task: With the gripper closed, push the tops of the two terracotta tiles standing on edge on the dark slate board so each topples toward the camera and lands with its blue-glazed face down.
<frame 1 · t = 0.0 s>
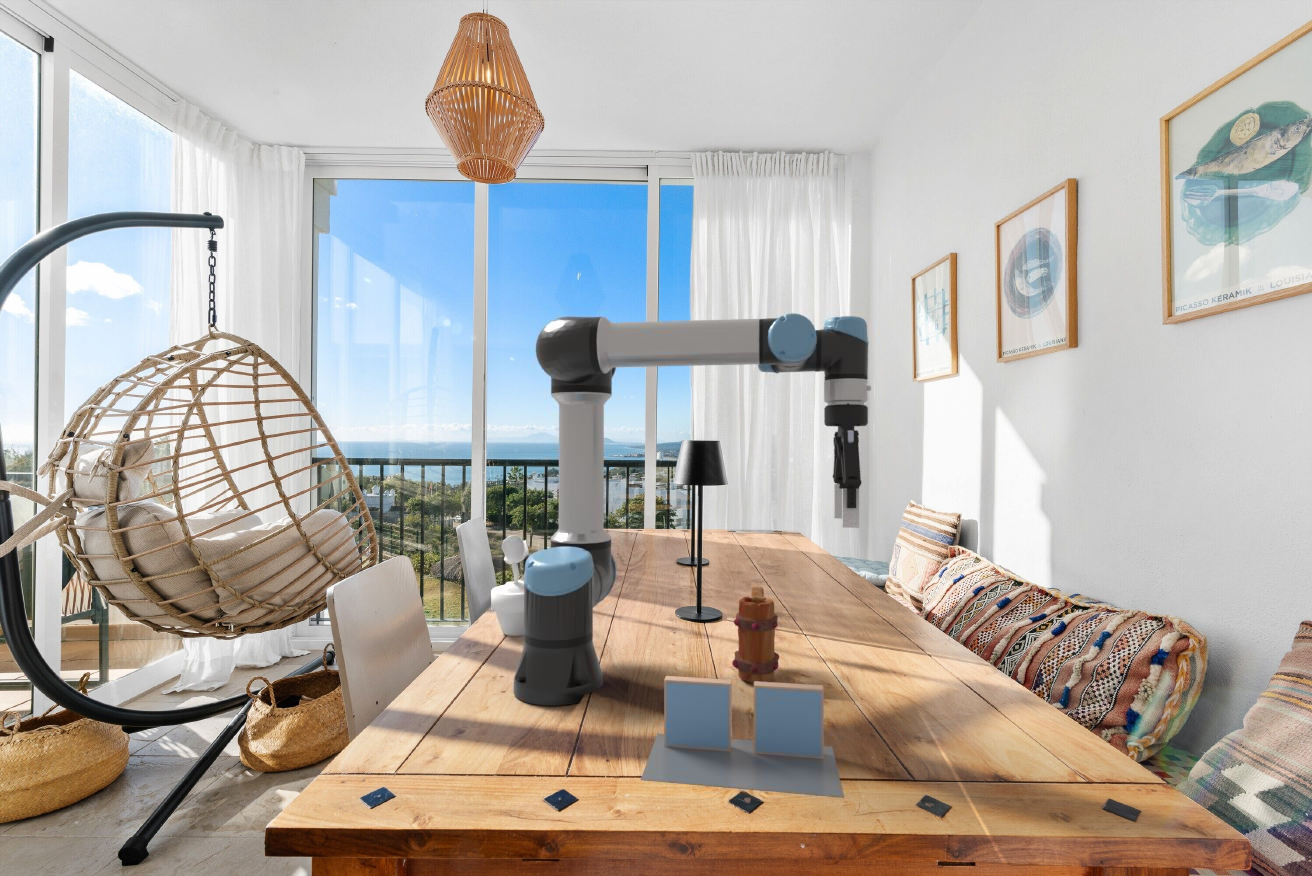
hand: (845, 522, 119), 28 cm above the table, fingers open, 13 cm apart
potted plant: (518, 633, 148), on the table
tile right: (788, 753, 88), point 1 cm above the table, touching slate board
mug: (756, 675, 122), on the table
slate board: (741, 771, 86), on the table
tile left: (697, 746, 90), point 1 cm above the table, touching slate board
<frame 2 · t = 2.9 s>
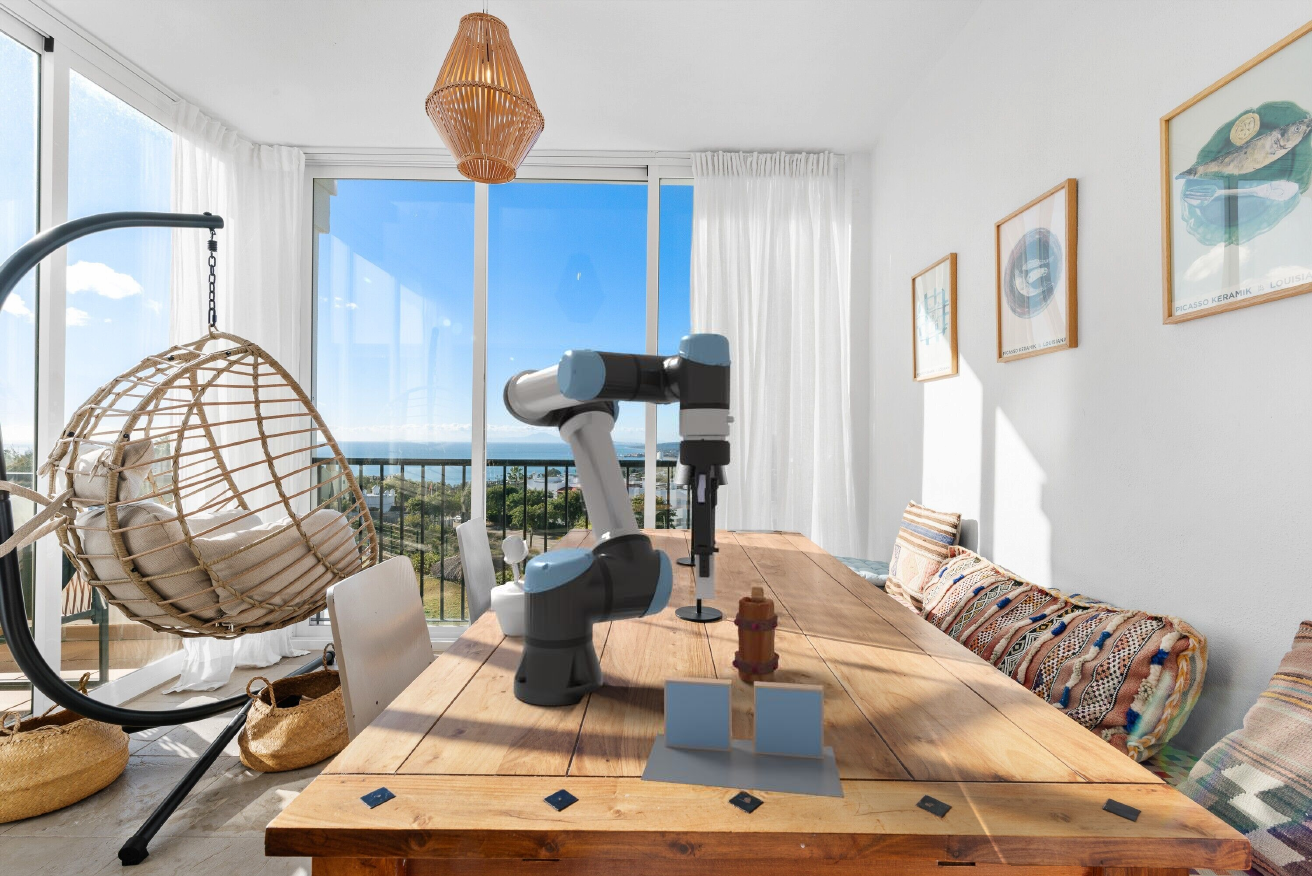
hand: (705, 597, 99), 19 cm above the table, fingers closed
nothing on the table moved.
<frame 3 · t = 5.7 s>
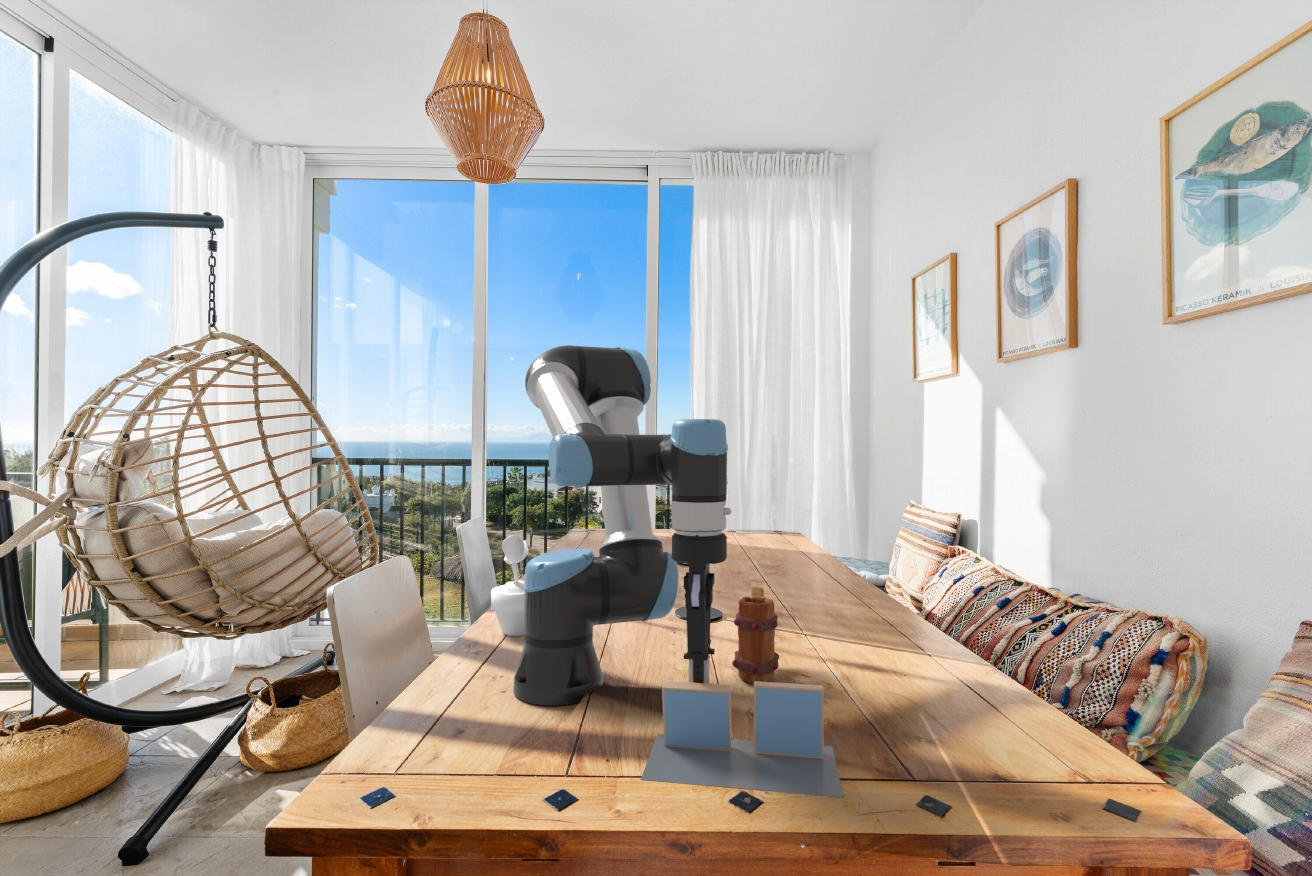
hand: (699, 704, 91), 7 cm above the table, fingers closed
tile left: (697, 745, 90), point 1 cm above the table, tilted 14°, touching slate board
everything else where it was.
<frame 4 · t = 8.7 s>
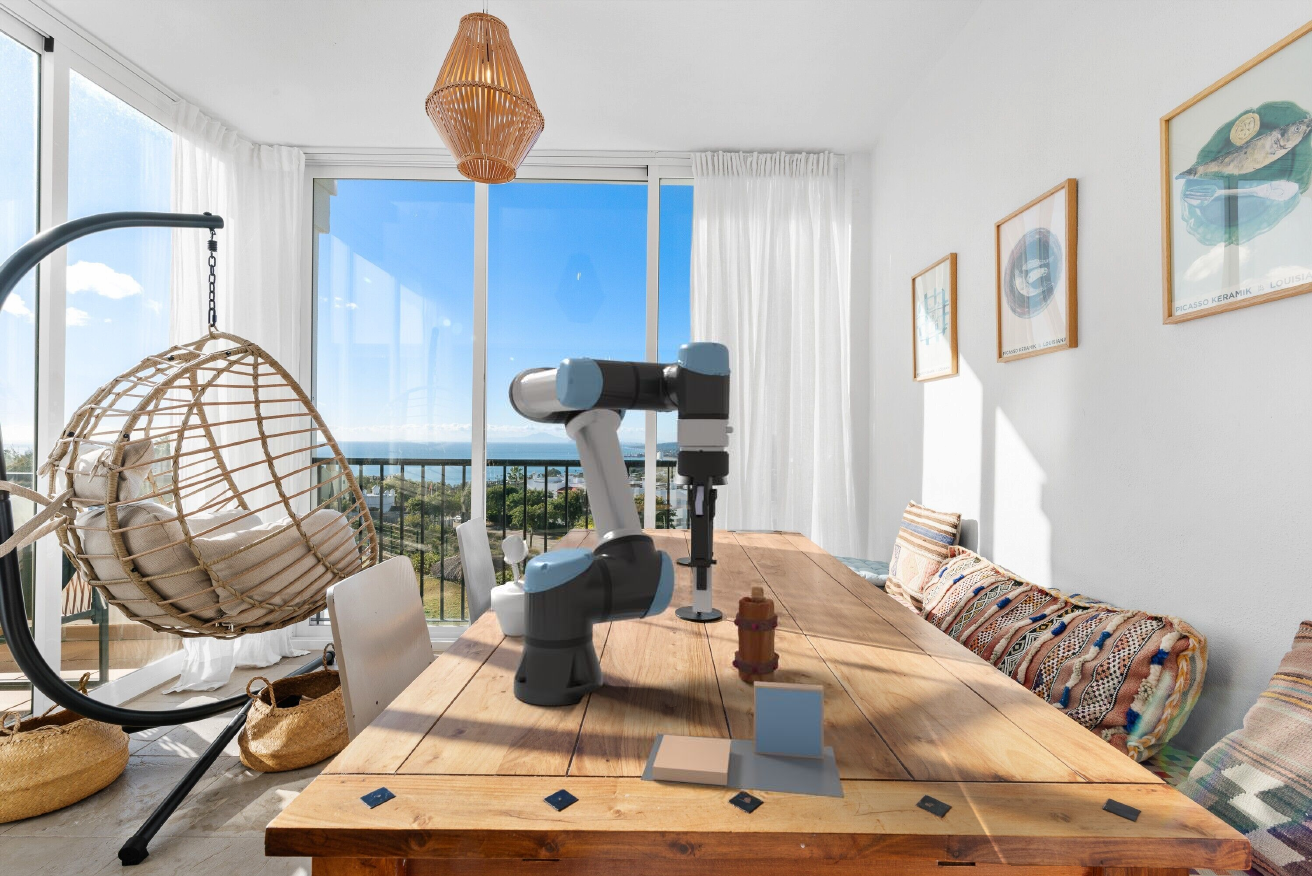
hand: (702, 610, 97), 18 cm above the table, fingers closed
tile left: (697, 742, 89), point 2 cm above the table, tilted 90°, touching slate board
everything else where it was.
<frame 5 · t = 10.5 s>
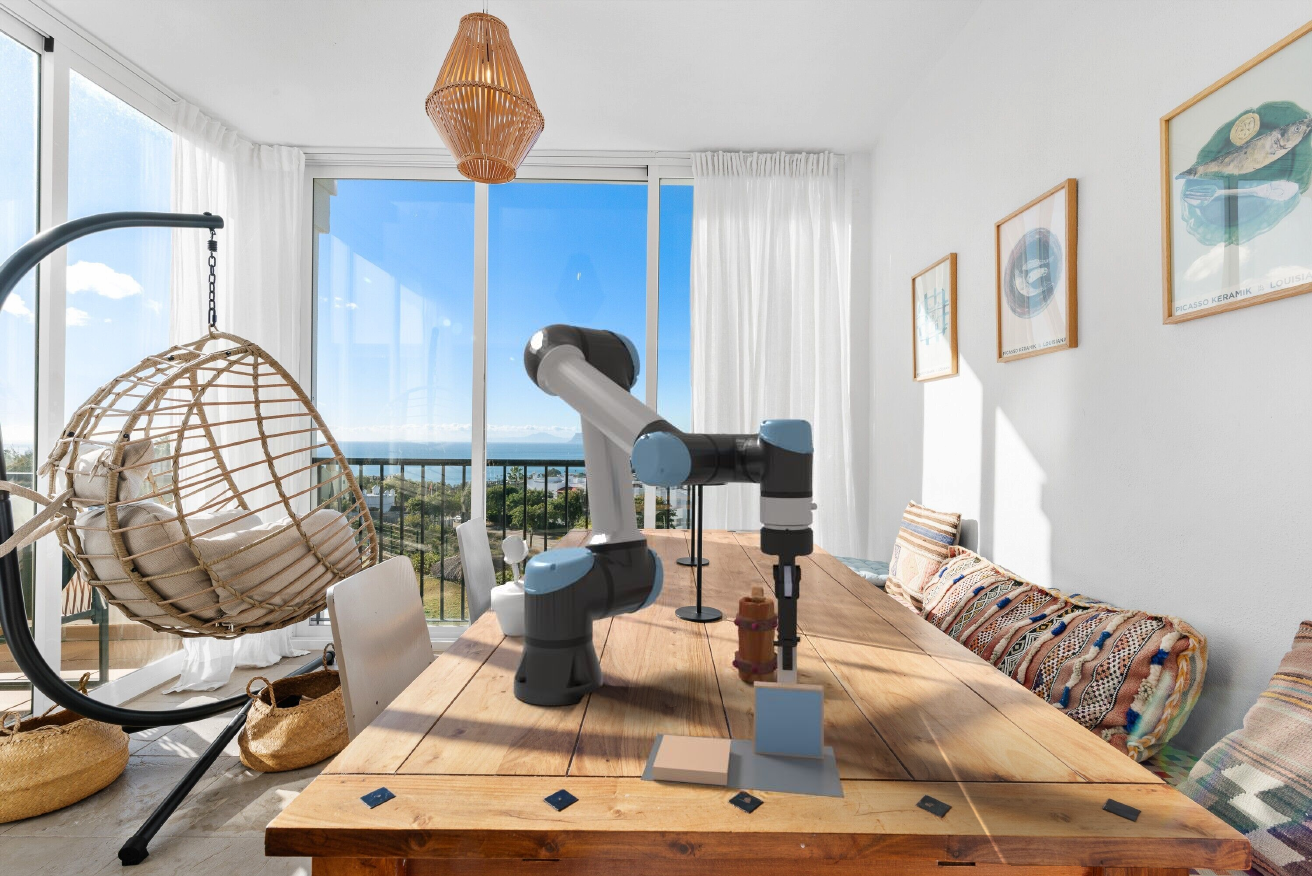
hand: (787, 689, 96), 7 cm above the table, fingers closed
nothing on the table moved.
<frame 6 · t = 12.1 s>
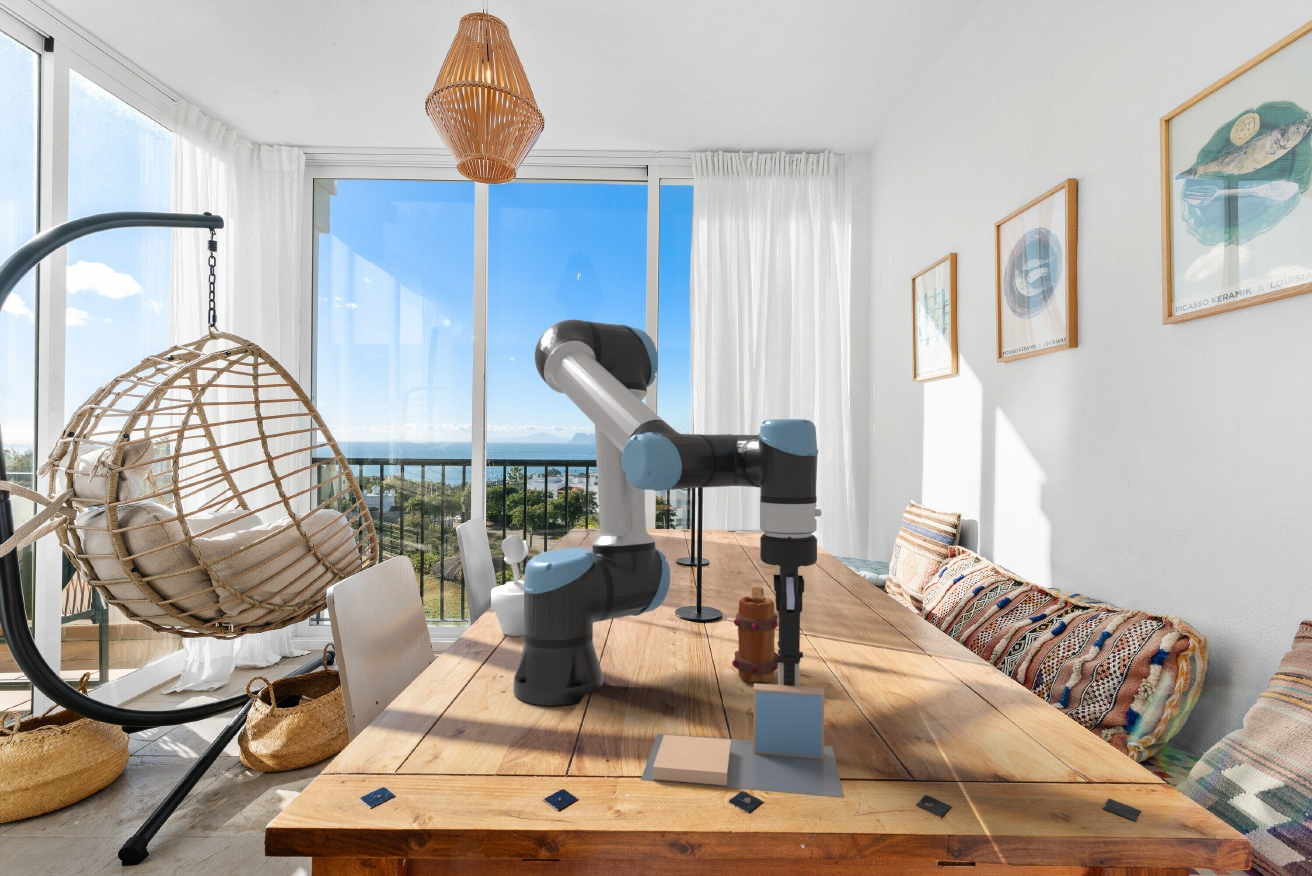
hand: (788, 708, 89), 7 cm above the table, fingers closed
tile right: (788, 752, 88), point 1 cm above the table, tilted 7°, touching slate board
everything else where it was.
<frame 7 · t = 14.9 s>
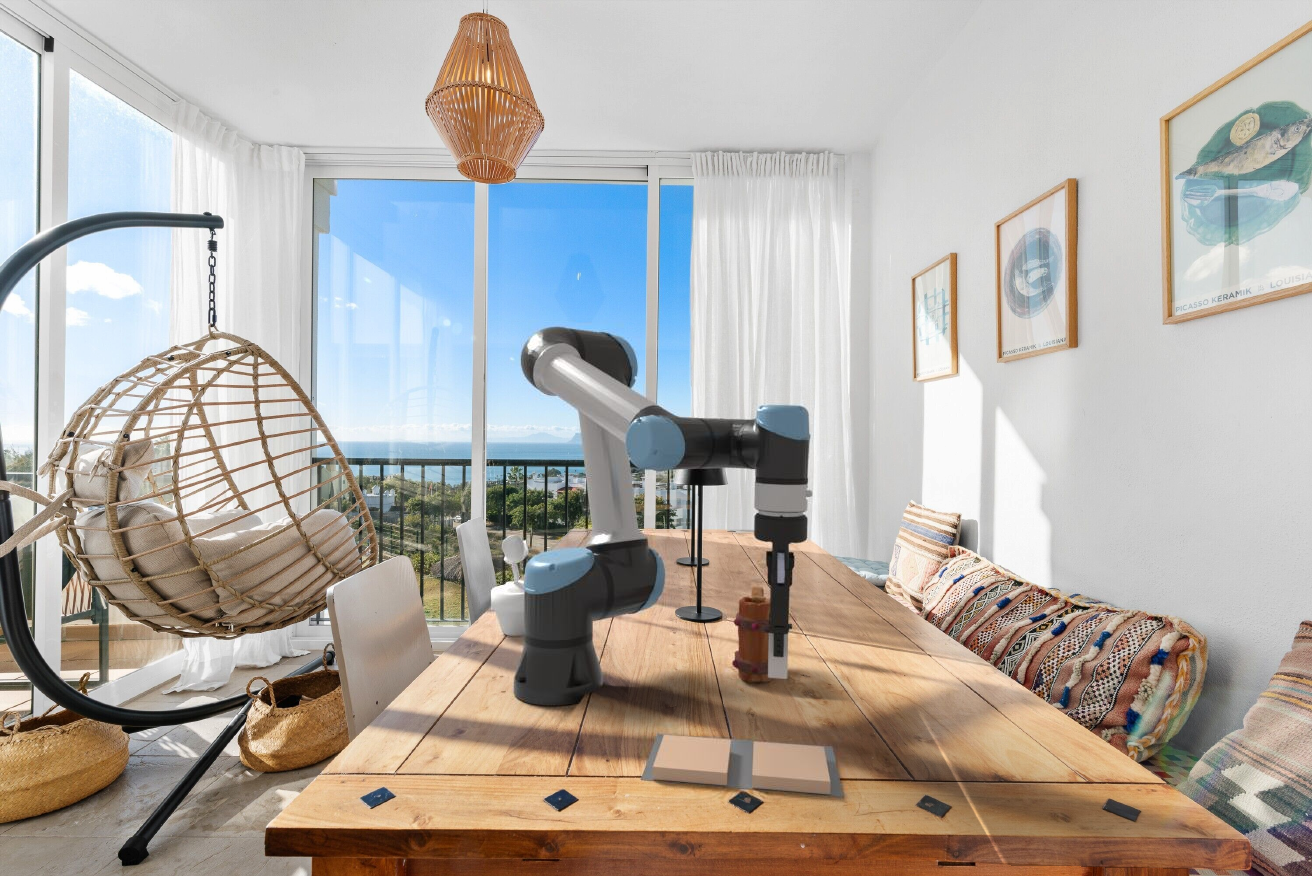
hand: (777, 676, 96), 9 cm above the table, fingers closed
tile right: (788, 749, 87), point 2 cm above the table, tilted 90°, touching slate board
everything else where it was.
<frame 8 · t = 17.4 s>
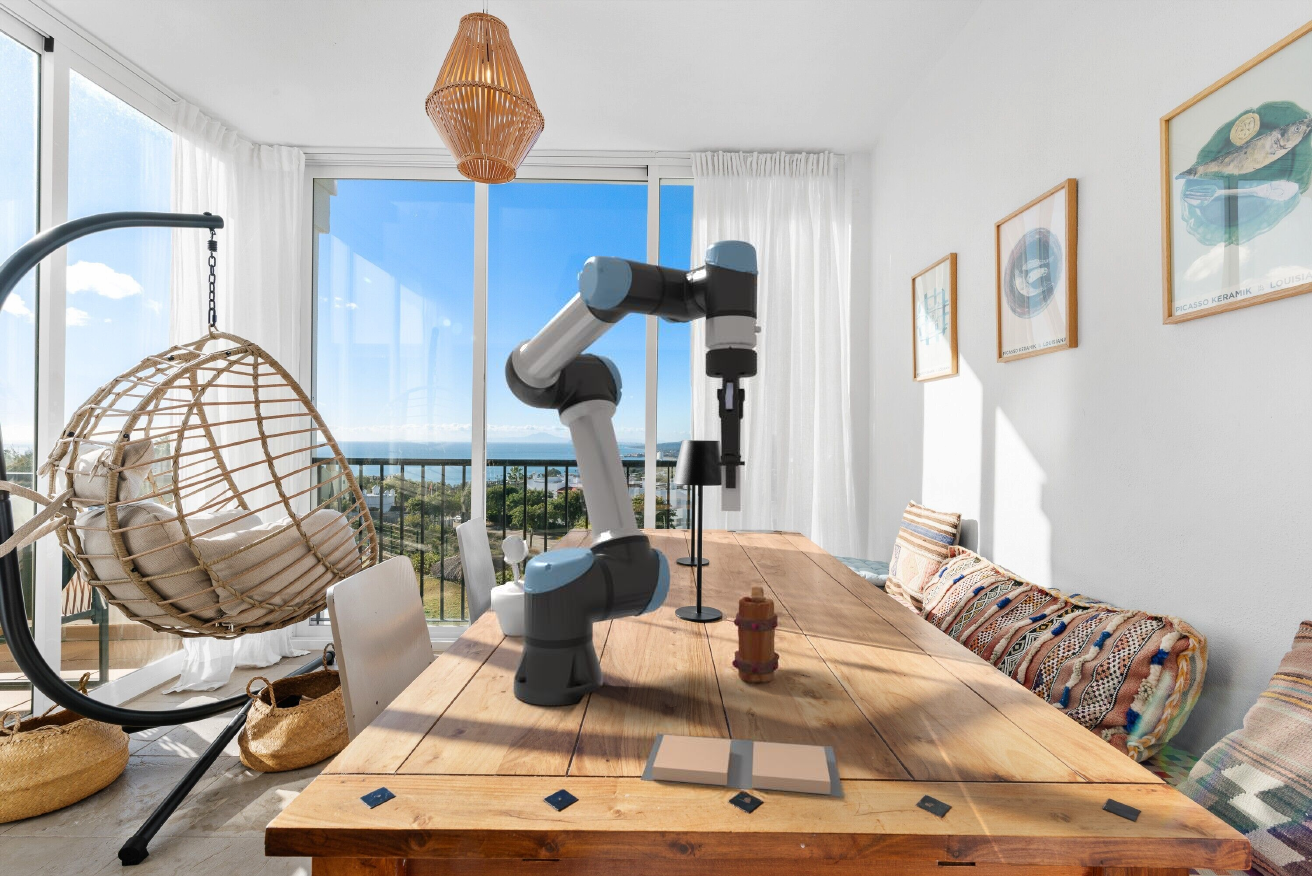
hand: (731, 510, 97), 32 cm above the table, fingers closed
nothing on the table moved.
at the end: tile left tilted 90°; tile right tilted 90°; tile left inside the target area (3.6 cm from its centre), point 2.1 cm above the table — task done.
